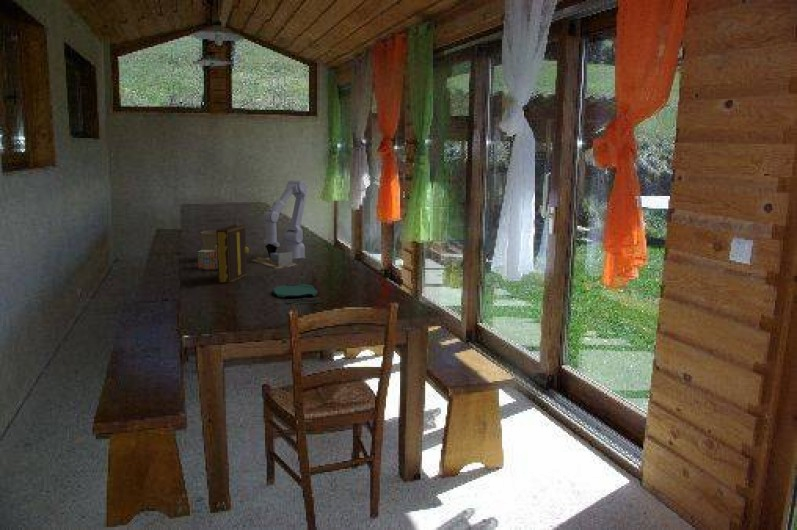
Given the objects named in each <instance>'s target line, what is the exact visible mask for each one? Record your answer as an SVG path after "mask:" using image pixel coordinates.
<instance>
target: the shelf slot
mask: <svg viewBox="0 0 797 530" xmlns="http://www.w3.org/2000/svg"><path fill="white" fill-rule="evenodd" d="M277 253H278V263H277V262H274V261H271V260H270V258H269V257H266V258H264V257H260V256H258V257H257V258H256V259H251V261H253V262H256V263H258V264H261V265H265V266H269V267H271V268H272V269H283V268H284V269H285V268H290V267H291V266H292V267H297V266H299V265H298V263H295V262H293V260H294V259H293V255H292V252H287V251H285V252H277ZM292 267H291V268H292Z"/></svg>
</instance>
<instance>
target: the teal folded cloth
mask: <svg viewBox="0 0 797 530" xmlns="http://www.w3.org/2000/svg"><path fill="white" fill-rule="evenodd" d="M271 292H272V294H274V295H275V296H277V297H278V298H282V299H283V298H284V299H285V298H291V299H285V300H284V302H285V303H286V304H289V303H291V304H292V305H291V306H299V305H298V304H300V305H312V304H321V303H323V300H321V298H320V297H316V296H317V294H318V292H319V289H318V288H317V287H316V286H314V285H311V284H304V283H303V284H289V285H288V284H287V285H279V286H275V287H273V289H272V291H271ZM311 295H312V296H313V297H307V296H311ZM293 298H294V299H293ZM291 301H297V302H291Z"/></svg>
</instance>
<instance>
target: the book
mask: <svg viewBox="0 0 797 530" xmlns="http://www.w3.org/2000/svg"><path fill="white" fill-rule="evenodd" d="M216 233H217V256H218V270H217V276H218V279H217V280H218V283H219V284H231V283H230V282H232V283H234V282H236V281H238V280H240V279H242V277H243V278H245V277H247V276H248V264H247V261H248V259H247V255H248V254H249V253H250V249H249V247H247V236H246V235H247V234H246V233H247V232H246V225H245V224H241V225H237V224H231V225H227V226H224V227H220V228H217V229H216ZM244 276H245V277H244ZM237 279H238V280H237ZM235 280H236V281H235ZM233 281H234V282H233Z"/></svg>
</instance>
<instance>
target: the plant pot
mask: <svg viewBox="0 0 797 530" xmlns="http://www.w3.org/2000/svg"><path fill="white" fill-rule="evenodd" d="M200 236H201V241H202V246H203V250H215V246H216V245H217V233H216V230H215V229H214V230H203V231H201V232H200Z"/></svg>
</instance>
